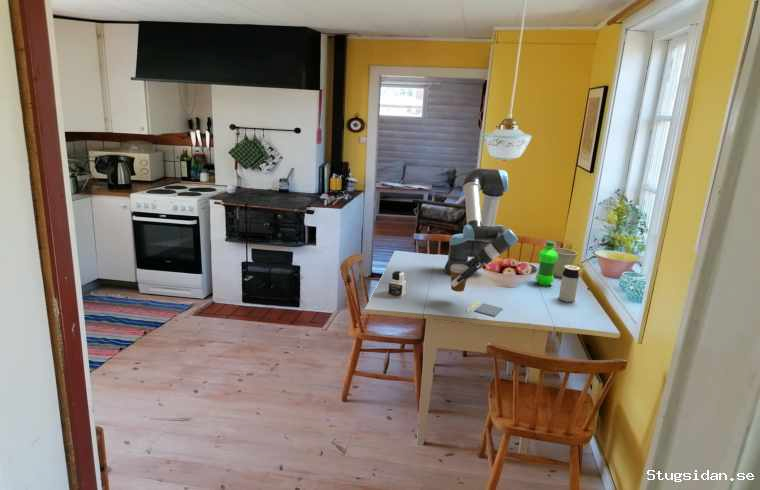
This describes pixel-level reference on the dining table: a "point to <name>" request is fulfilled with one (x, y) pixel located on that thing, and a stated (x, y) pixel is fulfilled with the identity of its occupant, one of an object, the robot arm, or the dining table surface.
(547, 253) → the plastic bottle
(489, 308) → the mat
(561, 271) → the plant pot
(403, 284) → the medicine bottle
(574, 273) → the travel mug
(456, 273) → the disposable coffee cup
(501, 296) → the dining table surface
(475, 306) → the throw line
